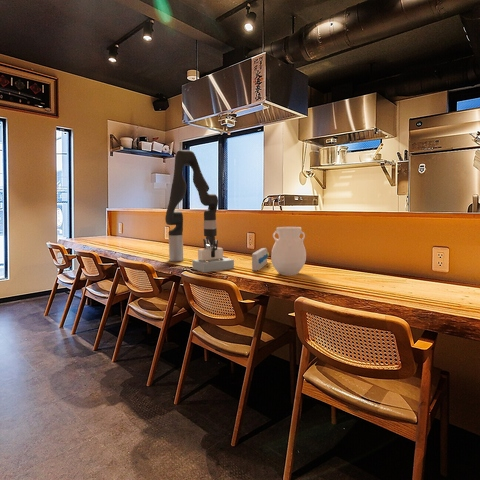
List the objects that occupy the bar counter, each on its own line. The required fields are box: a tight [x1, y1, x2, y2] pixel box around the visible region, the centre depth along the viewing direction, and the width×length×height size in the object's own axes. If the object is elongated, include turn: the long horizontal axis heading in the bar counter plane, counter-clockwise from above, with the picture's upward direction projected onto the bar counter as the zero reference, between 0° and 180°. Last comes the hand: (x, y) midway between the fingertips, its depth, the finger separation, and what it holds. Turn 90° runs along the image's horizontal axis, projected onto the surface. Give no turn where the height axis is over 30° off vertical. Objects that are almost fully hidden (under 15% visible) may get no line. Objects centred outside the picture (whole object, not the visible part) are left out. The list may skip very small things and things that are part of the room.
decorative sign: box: [251, 247, 270, 272], centre depth 207 cm, size 32×4×10 cm, turn 163°
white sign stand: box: [197, 246, 224, 261], centre depth 204 cm, size 5×14×10 cm, turn 124°
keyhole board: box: [192, 256, 235, 273], centre depth 202 cm, size 14×20×5 cm
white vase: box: [270, 226, 307, 276], centre depth 184 cm, size 19×18×25 cm
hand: (210, 256), depth 204 cm, fingers closed on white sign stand, 5 cm apart
